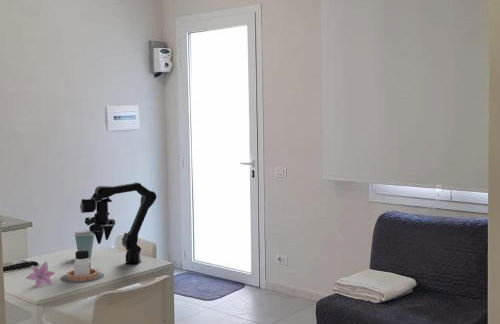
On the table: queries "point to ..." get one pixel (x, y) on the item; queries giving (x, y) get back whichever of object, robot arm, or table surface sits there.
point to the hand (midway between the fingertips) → (103, 241)
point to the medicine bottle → (82, 263)
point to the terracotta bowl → (72, 276)
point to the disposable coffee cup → (84, 240)
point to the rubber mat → (64, 279)
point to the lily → (41, 275)
